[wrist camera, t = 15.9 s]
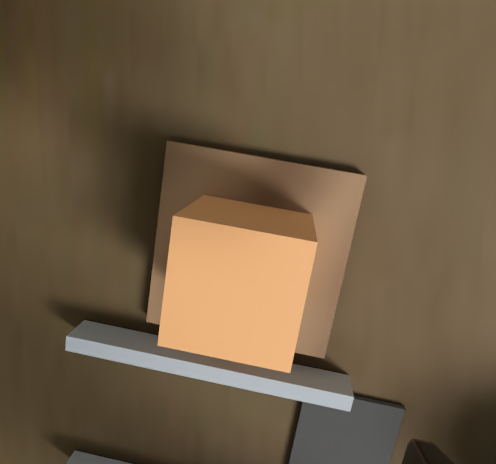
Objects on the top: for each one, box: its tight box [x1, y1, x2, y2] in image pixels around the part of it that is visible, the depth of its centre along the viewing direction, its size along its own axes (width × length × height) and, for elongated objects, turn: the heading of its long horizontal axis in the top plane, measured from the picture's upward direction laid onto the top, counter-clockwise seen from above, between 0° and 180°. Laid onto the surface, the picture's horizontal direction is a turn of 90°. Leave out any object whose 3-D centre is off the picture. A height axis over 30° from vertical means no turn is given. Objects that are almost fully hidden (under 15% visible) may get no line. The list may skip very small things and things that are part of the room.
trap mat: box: [288, 395, 405, 464], centre depth 22 cm, size 5×7×1 cm
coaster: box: [146, 141, 367, 359], centre depth 20 cm, size 9×9×1 cm
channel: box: [65, 320, 354, 464], centre depth 22 cm, size 14×9×2 cm, turn 81°
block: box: [157, 195, 318, 373], centre depth 17 cm, size 5×5×5 cm
